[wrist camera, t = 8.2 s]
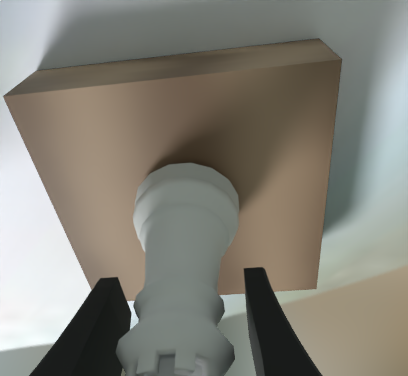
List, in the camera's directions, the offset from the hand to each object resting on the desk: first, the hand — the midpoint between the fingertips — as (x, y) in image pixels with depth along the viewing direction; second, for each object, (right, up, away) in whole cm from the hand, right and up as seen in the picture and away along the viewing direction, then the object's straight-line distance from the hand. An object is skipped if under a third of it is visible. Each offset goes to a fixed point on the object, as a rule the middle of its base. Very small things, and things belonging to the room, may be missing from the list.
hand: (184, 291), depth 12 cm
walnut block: (0, +4, +6) cm, 7 cm away
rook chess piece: (0, +3, +3) cm, 5 cm away
